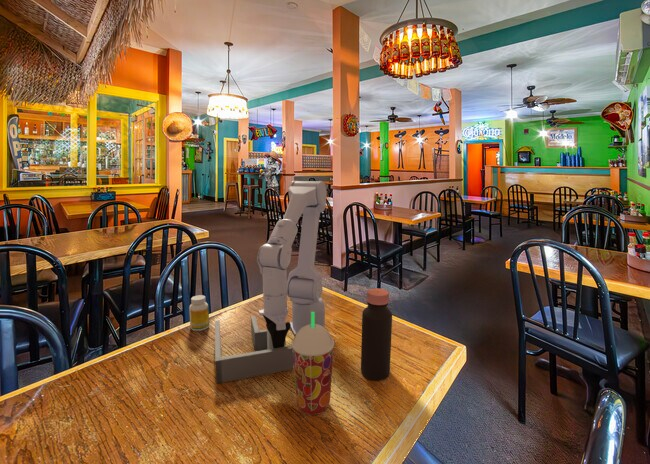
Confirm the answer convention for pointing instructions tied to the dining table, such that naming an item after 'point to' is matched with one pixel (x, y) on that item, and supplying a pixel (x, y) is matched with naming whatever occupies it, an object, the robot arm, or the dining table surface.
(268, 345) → the block
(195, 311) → the supplement bottle
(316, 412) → the smoothie
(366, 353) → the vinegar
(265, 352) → the rails
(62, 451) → the dining table surface
